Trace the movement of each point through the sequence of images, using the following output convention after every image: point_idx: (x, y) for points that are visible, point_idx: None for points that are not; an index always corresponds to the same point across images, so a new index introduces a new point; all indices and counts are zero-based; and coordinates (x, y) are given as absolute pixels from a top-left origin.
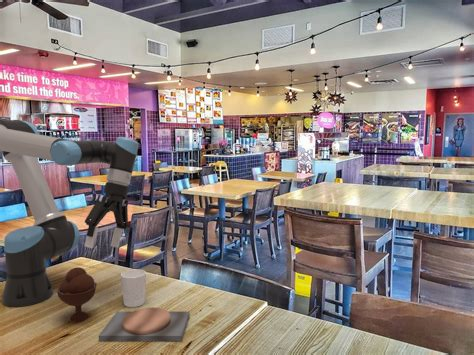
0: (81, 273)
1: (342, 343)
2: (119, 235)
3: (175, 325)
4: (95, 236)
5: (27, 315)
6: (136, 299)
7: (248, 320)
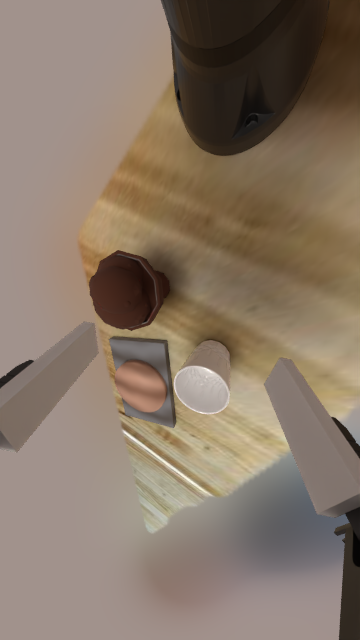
0: (104, 310)
1: (147, 505)
2: (292, 446)
3: (141, 411)
4: (60, 393)
5: (152, 179)
6: (194, 368)
7: (173, 469)
